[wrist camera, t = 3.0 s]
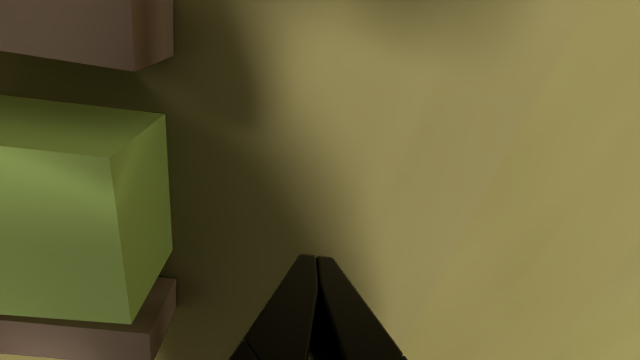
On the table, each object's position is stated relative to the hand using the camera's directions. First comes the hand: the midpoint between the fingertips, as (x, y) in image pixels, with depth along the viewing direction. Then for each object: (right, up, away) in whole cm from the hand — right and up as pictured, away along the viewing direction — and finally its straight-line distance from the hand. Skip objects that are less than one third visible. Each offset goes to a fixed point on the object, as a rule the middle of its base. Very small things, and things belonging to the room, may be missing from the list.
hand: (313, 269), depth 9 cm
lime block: (-7, +2, +3) cm, 8 cm away
